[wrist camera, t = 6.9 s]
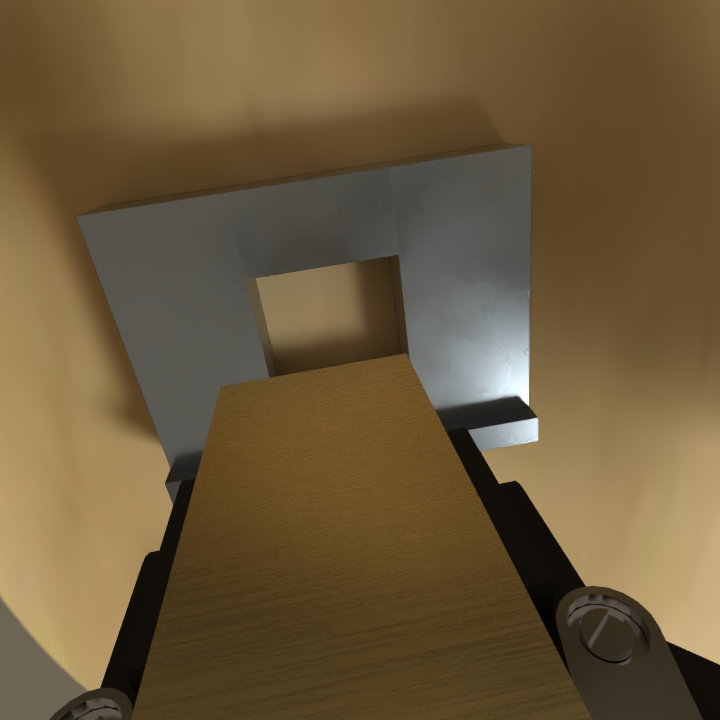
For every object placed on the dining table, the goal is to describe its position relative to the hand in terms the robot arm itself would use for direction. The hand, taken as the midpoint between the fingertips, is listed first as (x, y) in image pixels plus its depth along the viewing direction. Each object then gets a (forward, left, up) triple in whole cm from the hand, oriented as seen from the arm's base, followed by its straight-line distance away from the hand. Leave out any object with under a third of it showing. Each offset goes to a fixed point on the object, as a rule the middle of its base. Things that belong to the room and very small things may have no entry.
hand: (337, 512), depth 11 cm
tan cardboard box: (0, 0, -2) cm, 2 cm away
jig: (0, 0, -13) cm, 13 cm away
